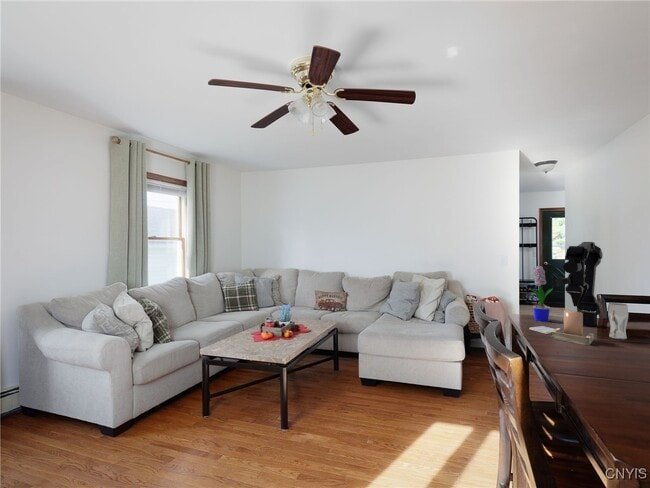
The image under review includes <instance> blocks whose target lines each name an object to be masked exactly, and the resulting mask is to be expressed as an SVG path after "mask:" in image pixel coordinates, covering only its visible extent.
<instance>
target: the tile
mask: <svg viewBox="0 0 650 488" xmlns="http://www.w3.org/2000/svg"><path fill="white" fill-rule="evenodd" d="M555 329H556V328H552V327H548V326H545V325H540V326H531V327H529V330H531V331H533V332H534V331H535V332H537V333H538V332H539V333H542V334H546V335H547V334H549V335H550V334H551V332H552V331H554V330H555Z"/></svg>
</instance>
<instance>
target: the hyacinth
mask: <svg viewBox="0 0 650 488" xmlns="http://www.w3.org/2000/svg"><path fill="white" fill-rule="evenodd" d="M533 279H534V284H536V286H538V291H537V290H536V289H530V290H531V291H532V292H533V293H534V294H535V295H536V298H537V299H538V301H539V305H532V309H533V315H534V321H537V322H543V323H544V322H549V319H550V311H551V307H550V306H548V305H547V306H546V305H544V303H545V300H546V297H547V295H549V294H550V293H551V292H552V291H553V290H554V288H549V289H547V290H546V291H544V290H543V285H546V284H547V280H546V270H545V269H544V267H543V266H540V265H537V266H535V267H534V268H533Z"/></svg>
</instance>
